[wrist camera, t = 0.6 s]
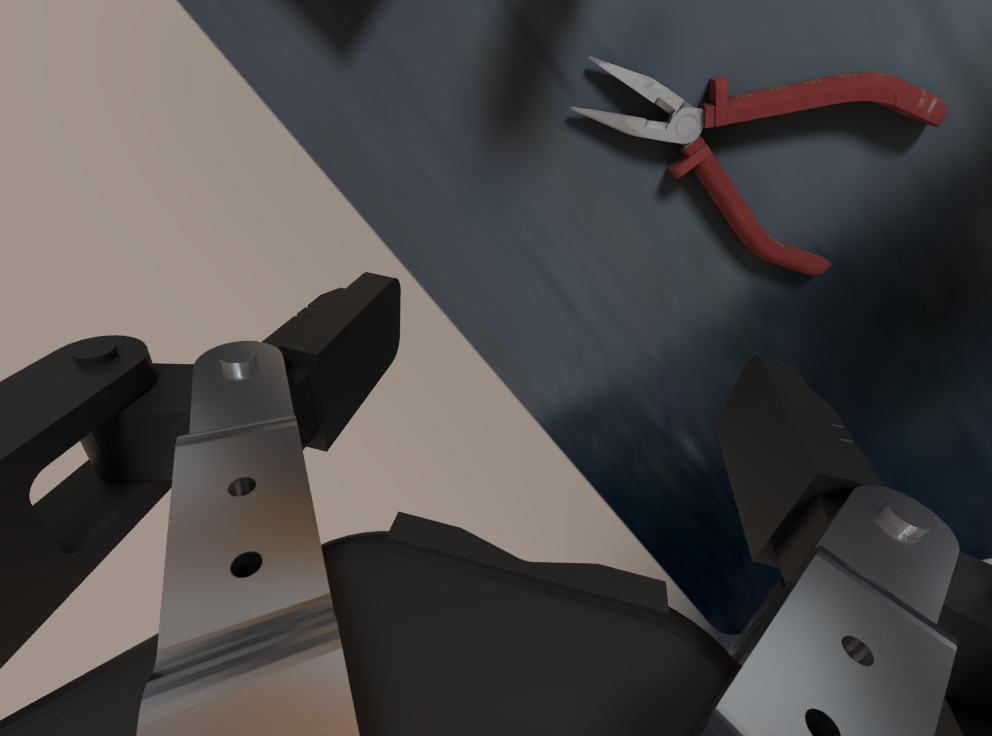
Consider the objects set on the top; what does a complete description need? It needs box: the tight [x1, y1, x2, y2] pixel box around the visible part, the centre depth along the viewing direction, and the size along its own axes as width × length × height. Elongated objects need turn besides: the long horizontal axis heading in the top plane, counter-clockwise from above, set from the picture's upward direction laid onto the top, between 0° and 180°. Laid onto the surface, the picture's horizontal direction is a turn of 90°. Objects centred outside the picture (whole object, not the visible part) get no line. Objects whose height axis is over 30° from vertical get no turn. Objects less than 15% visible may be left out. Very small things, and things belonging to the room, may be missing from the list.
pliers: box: [570, 56, 947, 275], centre depth 29 cm, size 12×20×3 cm, turn 72°
